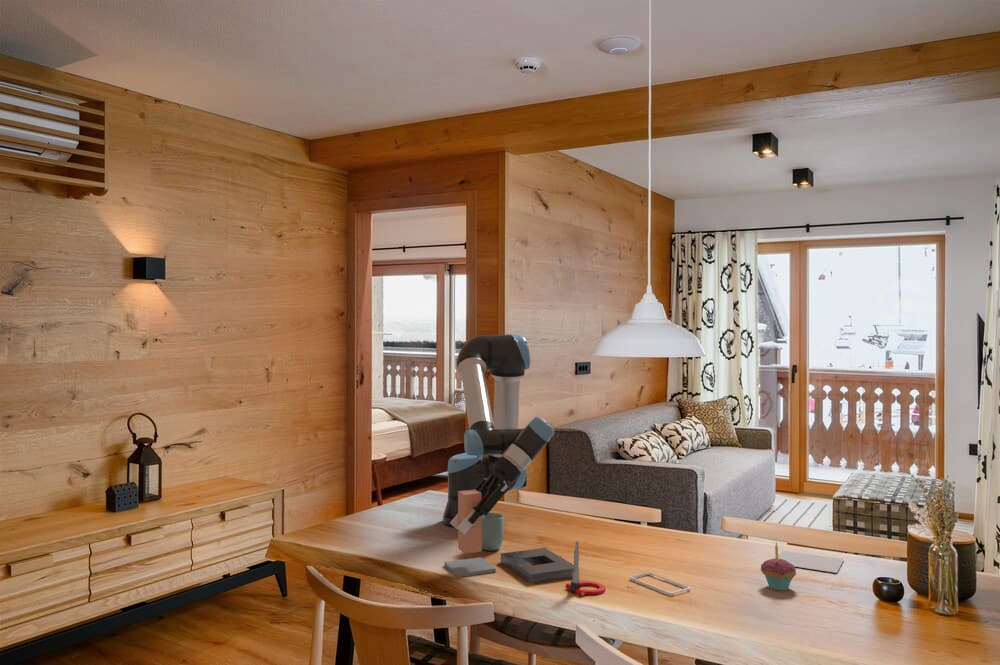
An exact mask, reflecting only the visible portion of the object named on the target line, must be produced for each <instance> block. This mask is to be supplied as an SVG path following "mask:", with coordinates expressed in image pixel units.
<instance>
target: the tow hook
mask: <svg viewBox="0 0 1000 665" xmlns="http://www.w3.org/2000/svg"><path fill="white" fill-rule="evenodd" d="M579 542H580V541H577V540H576V541H575V545H574V546H575V549H574V551H573V552H574V553H573V565H574V572H573V575H572V578H571V579H572V581H570V583H569V582H567V583H566V584H565V586H564V587H565V589H566V590H568V591H570V592H571V593H573V594H575V595H578V596H581V597H582V596H583V597H585V595H592V594H593V595H594V594H595V595H601V594H603V592H604V593H605V592H606V590H605V589H606V585H604V584H603V583H599V582H597V581H590V580H589V581H588V580H581V581H580V571H579V572H578V567H580V566H579V563H580V562H579V561H580V549H579V544H580V543H579ZM583 586H584V587H585V586H587V587H588V586H589V587H594V586H596V587H595V588H596V589H586V588H582V589H581V587H583ZM597 587H598V588H597ZM600 593H601V594H600Z"/></svg>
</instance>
